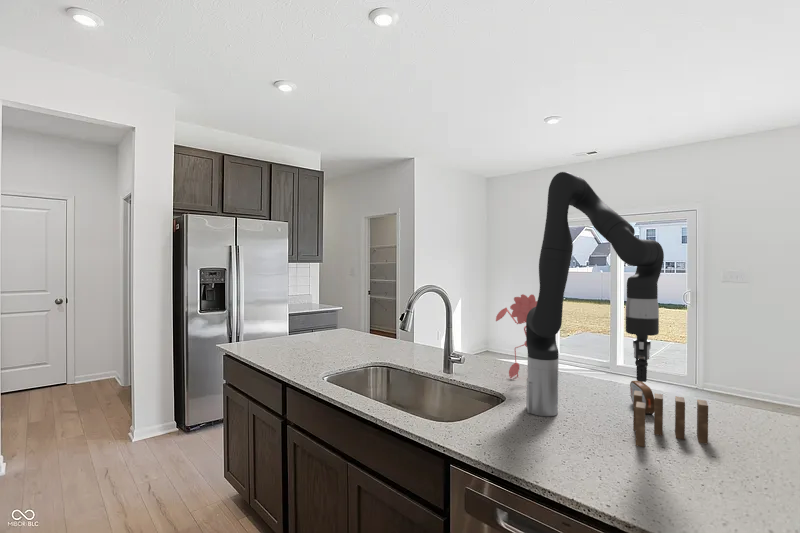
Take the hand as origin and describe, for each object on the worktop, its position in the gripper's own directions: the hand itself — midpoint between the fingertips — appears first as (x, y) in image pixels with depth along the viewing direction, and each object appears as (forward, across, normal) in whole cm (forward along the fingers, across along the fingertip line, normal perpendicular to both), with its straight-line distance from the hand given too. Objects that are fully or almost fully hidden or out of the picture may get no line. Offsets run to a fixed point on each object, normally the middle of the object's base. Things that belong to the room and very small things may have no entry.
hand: (641, 377), depth 110 cm
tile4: (+17, +11, -14) cm, 25 cm away
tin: (+18, +30, 0) cm, 35 cm away
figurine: (+17, +43, +41) cm, 61 cm away
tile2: (+17, +11, -4) cm, 21 cm away
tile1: (+17, +11, +1) cm, 20 cm away
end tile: (+17, 0, 0) cm, 17 cm away
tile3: (+17, +11, -9) cm, 22 cm away
